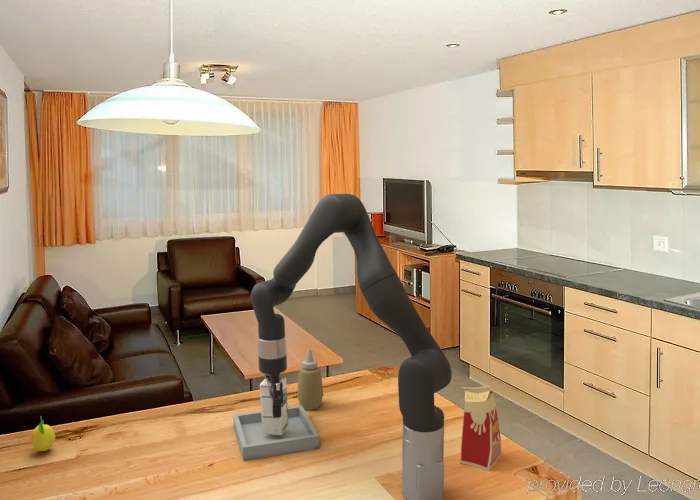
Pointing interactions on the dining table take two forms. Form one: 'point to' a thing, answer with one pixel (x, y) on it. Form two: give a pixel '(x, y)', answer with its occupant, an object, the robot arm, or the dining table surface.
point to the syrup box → (268, 421)
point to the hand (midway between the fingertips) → (274, 410)
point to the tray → (263, 445)
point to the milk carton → (480, 429)
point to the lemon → (42, 437)
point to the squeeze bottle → (310, 384)
